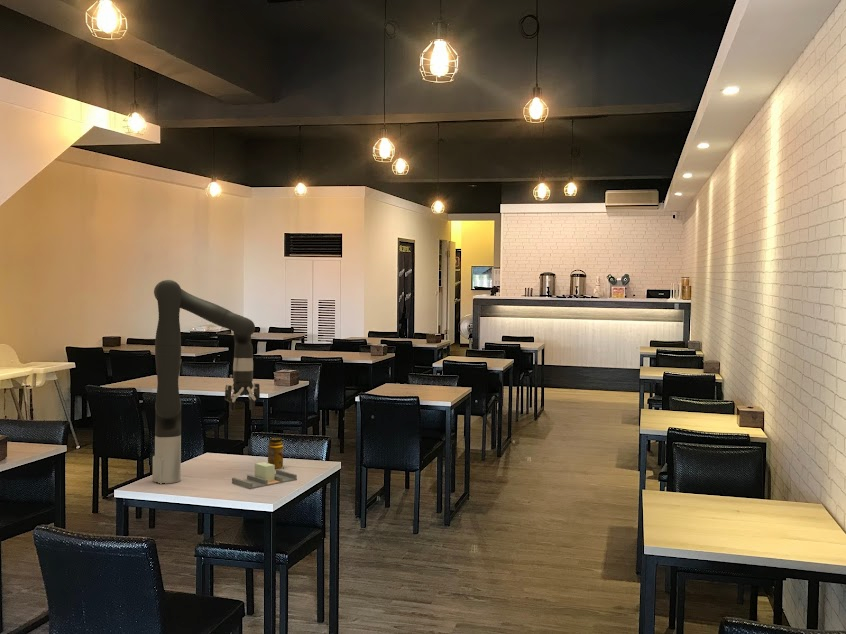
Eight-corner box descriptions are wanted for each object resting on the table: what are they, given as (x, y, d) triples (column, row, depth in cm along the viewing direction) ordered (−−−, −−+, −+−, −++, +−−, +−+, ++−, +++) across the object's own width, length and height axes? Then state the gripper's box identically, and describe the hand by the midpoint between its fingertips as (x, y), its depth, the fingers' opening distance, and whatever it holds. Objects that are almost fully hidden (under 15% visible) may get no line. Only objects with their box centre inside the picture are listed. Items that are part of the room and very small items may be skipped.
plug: (265, 482, 286) (265, 466, 286) (254, 479, 291) (254, 463, 291) (274, 480, 289) (274, 465, 289) (263, 477, 294) (263, 462, 293)
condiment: (287, 468, 313) (287, 438, 313) (269, 471, 308) (269, 441, 307) (277, 465, 319) (277, 436, 318) (259, 468, 313) (259, 438, 312)
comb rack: (250, 489, 278) (250, 483, 278) (231, 483, 286) (231, 477, 286) (296, 479, 293) (296, 474, 293) (277, 474, 301) (278, 469, 301)
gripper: (253, 367, 307) (252, 408, 307) (221, 369, 297) (220, 411, 297) (264, 369, 302) (263, 410, 302) (232, 370, 292) (231, 413, 292)
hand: (242, 410), depth 300 cm, fingers open, 8 cm apart
